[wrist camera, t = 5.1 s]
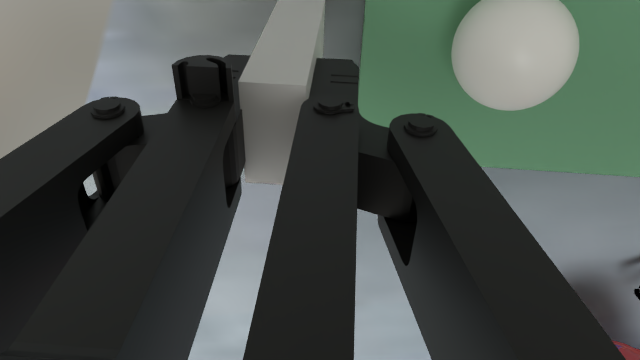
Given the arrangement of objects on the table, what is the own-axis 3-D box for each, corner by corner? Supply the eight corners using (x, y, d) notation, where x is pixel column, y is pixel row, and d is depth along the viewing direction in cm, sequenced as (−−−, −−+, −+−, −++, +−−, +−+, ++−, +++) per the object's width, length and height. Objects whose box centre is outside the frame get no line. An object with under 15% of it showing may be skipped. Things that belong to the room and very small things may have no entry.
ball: (572, -24, 17) (620, 12, 14) (539, 84, 19) (573, 136, 16) (455, -29, 17) (475, 4, 14) (436, 78, 20) (450, 128, 16)
